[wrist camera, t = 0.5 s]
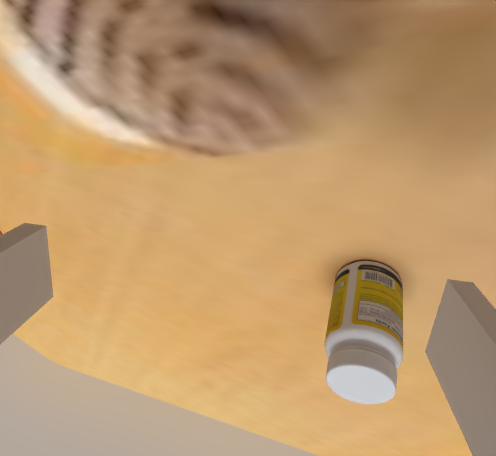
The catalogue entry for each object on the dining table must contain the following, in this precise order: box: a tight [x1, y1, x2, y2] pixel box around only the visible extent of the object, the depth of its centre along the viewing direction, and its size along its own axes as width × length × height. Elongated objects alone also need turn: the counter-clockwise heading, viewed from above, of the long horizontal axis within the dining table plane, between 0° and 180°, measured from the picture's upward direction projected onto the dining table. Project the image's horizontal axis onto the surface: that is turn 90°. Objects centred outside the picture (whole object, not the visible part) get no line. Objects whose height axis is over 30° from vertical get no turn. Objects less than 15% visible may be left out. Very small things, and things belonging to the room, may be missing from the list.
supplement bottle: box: [325, 261, 403, 404], centre depth 26 cm, size 5×5×8 cm
